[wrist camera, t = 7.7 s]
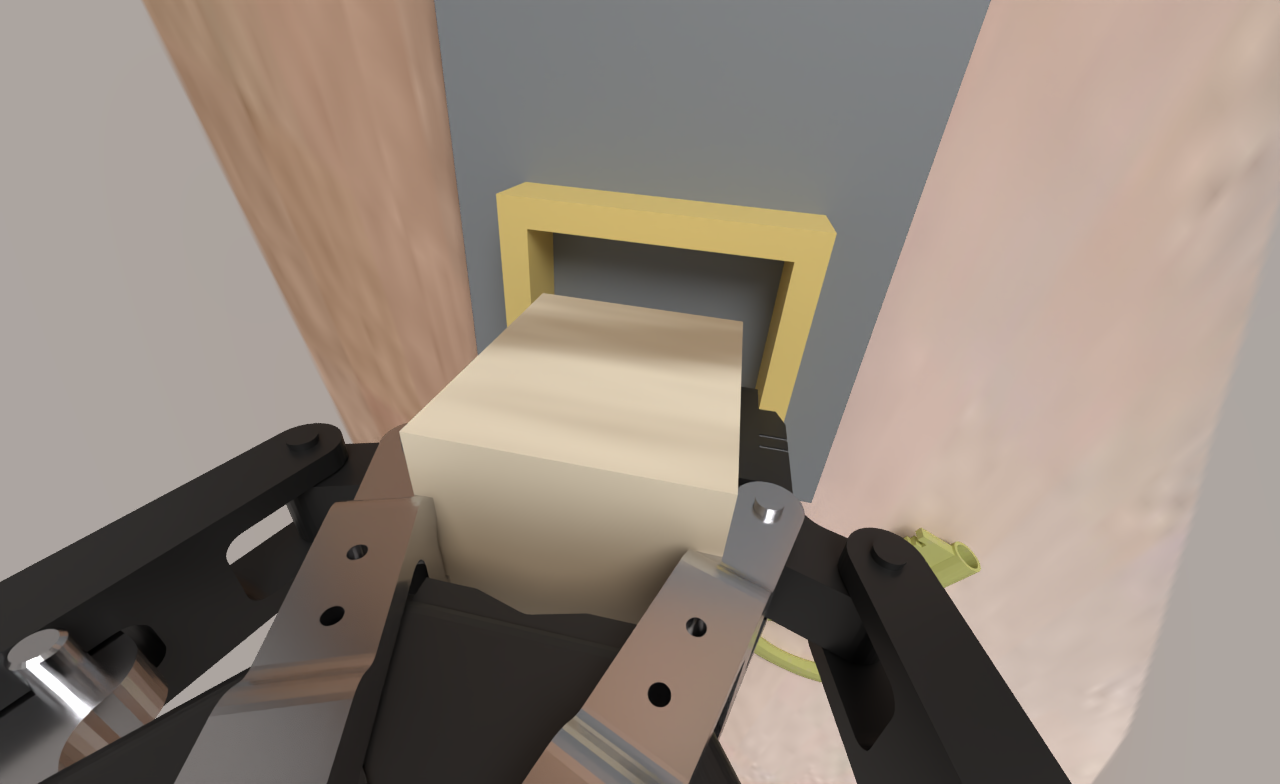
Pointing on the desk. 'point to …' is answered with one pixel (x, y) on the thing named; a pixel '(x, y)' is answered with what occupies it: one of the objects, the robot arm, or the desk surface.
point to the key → (941, 558)
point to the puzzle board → (704, 169)
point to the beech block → (584, 455)
